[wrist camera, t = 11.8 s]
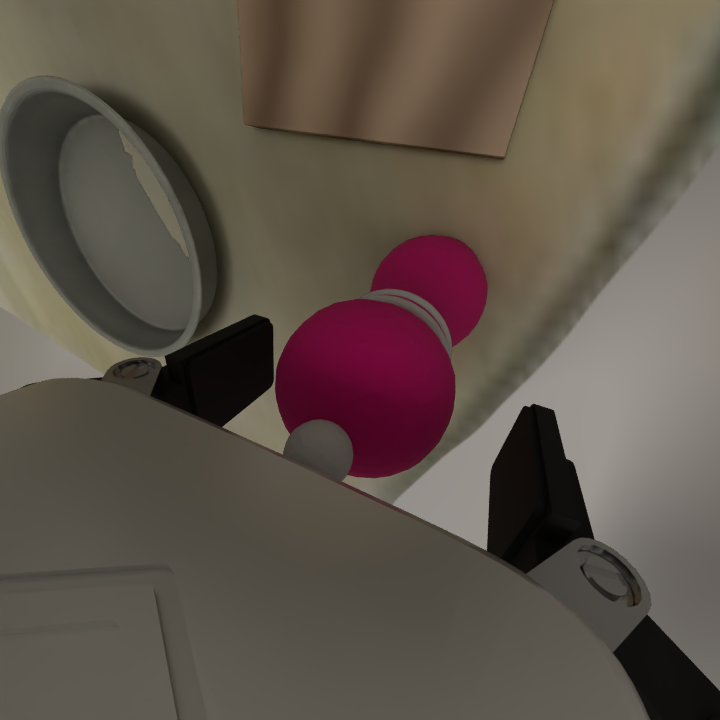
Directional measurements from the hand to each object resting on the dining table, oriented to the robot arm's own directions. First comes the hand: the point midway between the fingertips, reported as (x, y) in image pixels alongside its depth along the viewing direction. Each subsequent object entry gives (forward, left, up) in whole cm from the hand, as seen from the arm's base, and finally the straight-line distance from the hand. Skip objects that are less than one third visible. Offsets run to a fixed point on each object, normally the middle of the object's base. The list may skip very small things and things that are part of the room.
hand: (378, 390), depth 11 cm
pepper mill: (0, 0, -16) cm, 15 cm away
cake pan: (-32, -3, -16) cm, 36 cm away
